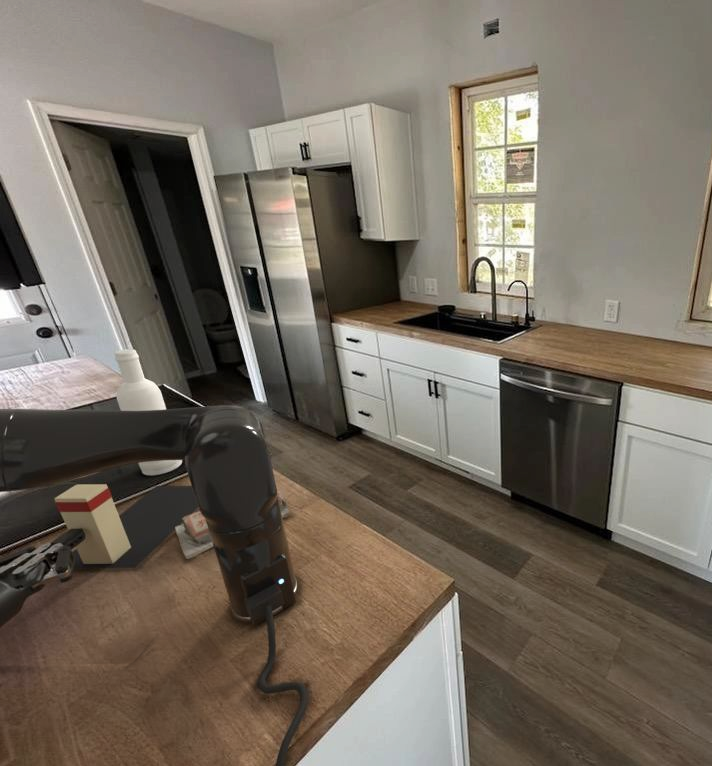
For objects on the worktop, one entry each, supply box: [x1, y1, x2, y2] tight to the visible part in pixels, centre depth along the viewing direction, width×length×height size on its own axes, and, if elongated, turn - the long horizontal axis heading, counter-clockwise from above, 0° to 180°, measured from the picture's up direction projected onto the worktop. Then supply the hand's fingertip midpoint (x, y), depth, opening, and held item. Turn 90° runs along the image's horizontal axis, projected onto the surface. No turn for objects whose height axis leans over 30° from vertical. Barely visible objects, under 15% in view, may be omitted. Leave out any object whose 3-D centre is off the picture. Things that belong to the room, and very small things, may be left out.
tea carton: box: [53, 483, 131, 564], centre depth 72 cm, size 4×5×14 cm
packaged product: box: [174, 489, 292, 560], centre depth 83 cm, size 18×5×10 cm
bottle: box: [113, 348, 183, 476], centre depth 96 cm, size 8×8×30 cm
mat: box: [72, 485, 199, 569], centre depth 83 cm, size 24×14×1 cm, turn 2°
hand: (79, 532), depth 69 cm, fingers closed
